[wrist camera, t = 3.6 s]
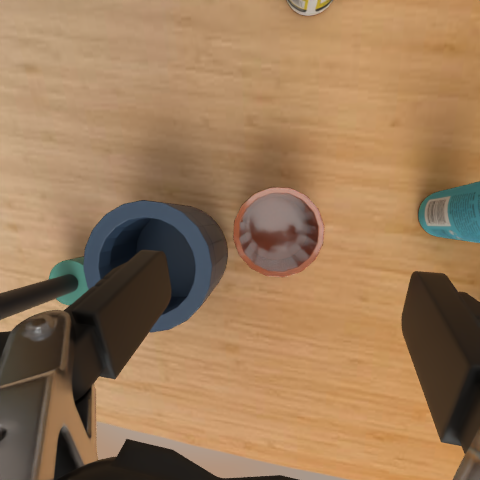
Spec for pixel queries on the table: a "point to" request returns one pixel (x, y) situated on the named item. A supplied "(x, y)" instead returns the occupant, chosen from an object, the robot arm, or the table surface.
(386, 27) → the table surface
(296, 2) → the supplement bottle
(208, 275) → the jar
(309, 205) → the crock
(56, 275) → the sponge wand
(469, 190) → the tube
